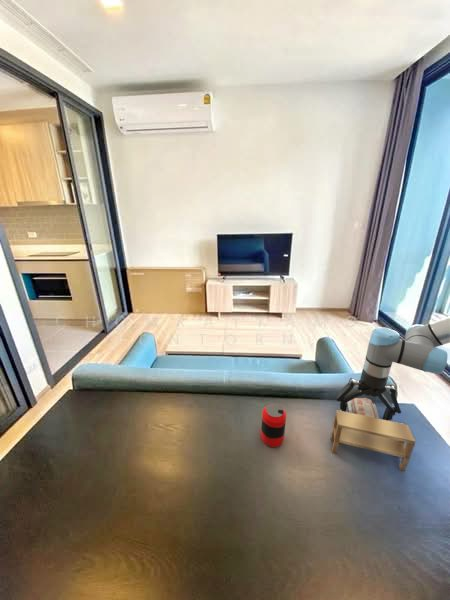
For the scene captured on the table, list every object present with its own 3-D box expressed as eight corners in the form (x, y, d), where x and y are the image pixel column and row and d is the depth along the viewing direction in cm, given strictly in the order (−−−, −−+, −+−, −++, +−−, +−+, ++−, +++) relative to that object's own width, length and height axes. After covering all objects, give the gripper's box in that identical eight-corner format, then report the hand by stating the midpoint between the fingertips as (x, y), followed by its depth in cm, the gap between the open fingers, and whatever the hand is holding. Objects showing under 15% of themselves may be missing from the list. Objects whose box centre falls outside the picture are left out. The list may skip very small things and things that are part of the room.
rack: (398, 453, 79) (407, 424, 75) (404, 471, 74) (415, 441, 69) (330, 437, 85) (336, 409, 80) (332, 453, 79) (338, 424, 75)
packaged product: (389, 435, 80) (354, 427, 83) (385, 446, 81) (352, 438, 84) (377, 397, 95) (348, 391, 99) (374, 407, 97) (346, 401, 100)
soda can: (282, 450, 80) (285, 422, 76) (258, 443, 82) (260, 415, 78) (284, 431, 87) (287, 404, 82) (263, 426, 89) (265, 399, 85)
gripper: (414, 372, 84) (398, 420, 91) (334, 359, 90) (325, 405, 98) (423, 386, 77) (405, 437, 84) (336, 371, 84) (327, 419, 91)
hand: (362, 420), depth 91 cm, fingers open, 13 cm apart
